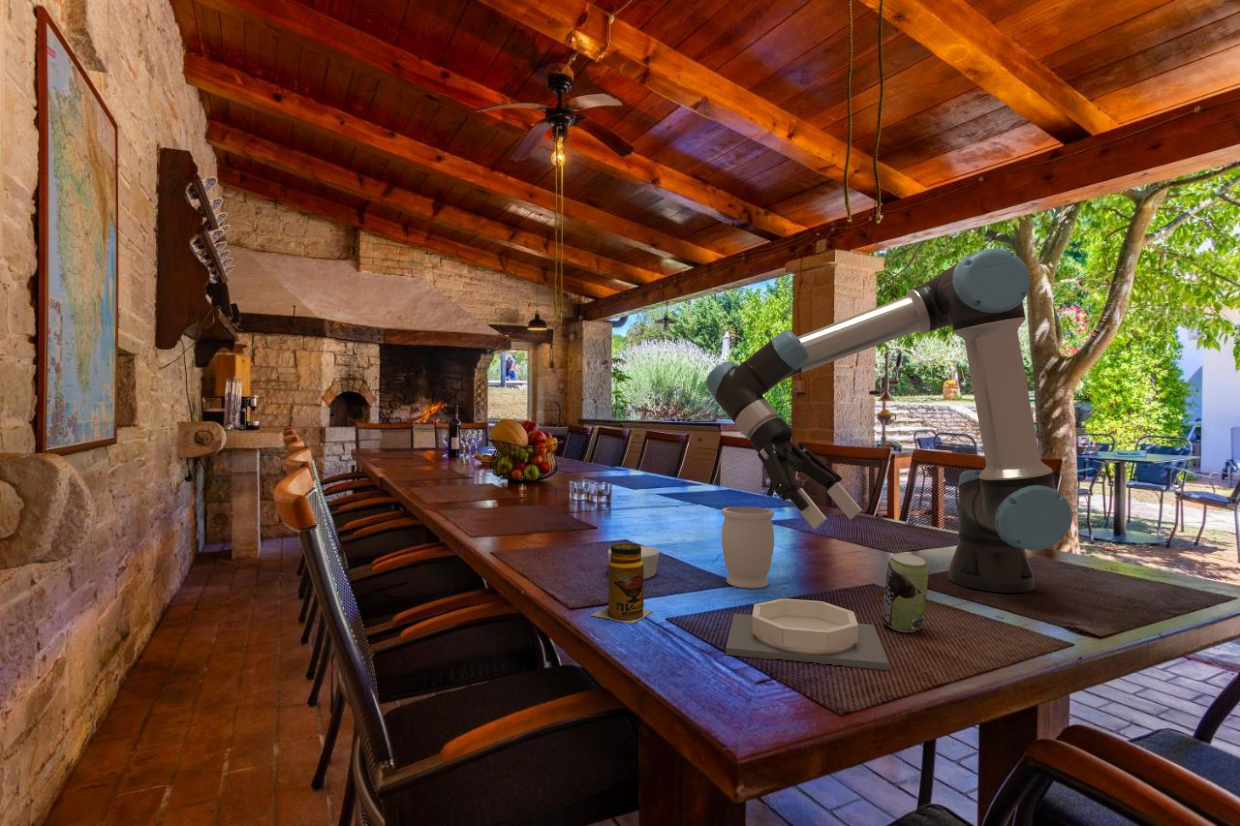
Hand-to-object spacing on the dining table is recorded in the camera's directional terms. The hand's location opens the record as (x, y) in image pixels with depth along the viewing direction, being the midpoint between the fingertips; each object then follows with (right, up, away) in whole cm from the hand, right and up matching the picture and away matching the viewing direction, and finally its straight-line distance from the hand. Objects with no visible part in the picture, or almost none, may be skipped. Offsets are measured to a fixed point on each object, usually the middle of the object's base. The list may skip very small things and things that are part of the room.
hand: (839, 519), depth 111 cm
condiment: (-38, -17, 0) cm, 41 cm away
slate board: (-10, -17, -13) cm, 23 cm away
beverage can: (+8, -17, -7) cm, 20 cm away
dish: (-10, -16, -13) cm, 23 cm away
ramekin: (-35, -16, +26) cm, 47 cm away
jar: (-12, -16, +19) cm, 28 cm away
